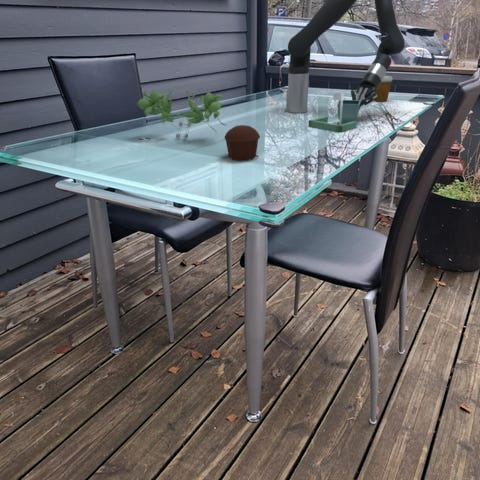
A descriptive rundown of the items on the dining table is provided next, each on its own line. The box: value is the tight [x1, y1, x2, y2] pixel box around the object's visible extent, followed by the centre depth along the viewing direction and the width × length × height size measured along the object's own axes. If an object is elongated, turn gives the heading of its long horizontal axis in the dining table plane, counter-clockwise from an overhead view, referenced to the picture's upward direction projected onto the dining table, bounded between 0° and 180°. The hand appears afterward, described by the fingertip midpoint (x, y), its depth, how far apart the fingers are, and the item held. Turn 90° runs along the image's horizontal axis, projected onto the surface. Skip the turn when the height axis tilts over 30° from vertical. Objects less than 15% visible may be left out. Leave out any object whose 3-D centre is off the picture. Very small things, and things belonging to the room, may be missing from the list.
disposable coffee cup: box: [373, 75, 394, 103], centre depth 234 cm, size 10×10×12 cm
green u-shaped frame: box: [307, 92, 358, 133], centre depth 183 cm, size 16×10×14 cm, turn 41°
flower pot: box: [337, 99, 360, 125], centre depth 189 cm, size 9×9×9 cm
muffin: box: [223, 124, 261, 162], centre depth 150 cm, size 12×11×10 cm
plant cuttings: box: [136, 89, 226, 141], centre depth 175 cm, size 35×17×22 cm
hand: (354, 111), depth 193 cm, fingers closed
